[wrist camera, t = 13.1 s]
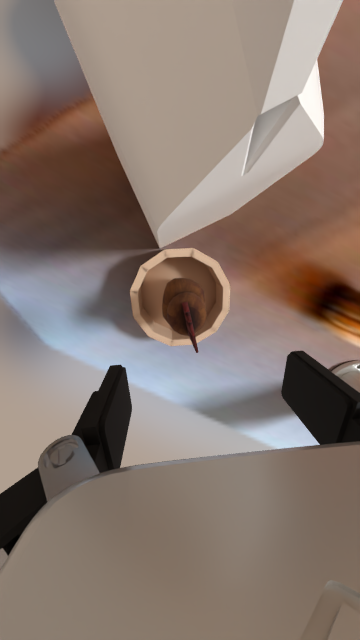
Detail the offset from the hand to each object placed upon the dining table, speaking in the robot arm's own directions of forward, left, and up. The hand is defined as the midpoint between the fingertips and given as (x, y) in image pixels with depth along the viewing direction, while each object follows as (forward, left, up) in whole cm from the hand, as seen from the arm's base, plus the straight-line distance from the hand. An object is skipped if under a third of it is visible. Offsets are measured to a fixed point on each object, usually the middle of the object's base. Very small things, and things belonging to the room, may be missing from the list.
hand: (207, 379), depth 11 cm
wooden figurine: (0, 0, -22) cm, 22 cm away
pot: (0, 0, -22) cm, 22 cm away
